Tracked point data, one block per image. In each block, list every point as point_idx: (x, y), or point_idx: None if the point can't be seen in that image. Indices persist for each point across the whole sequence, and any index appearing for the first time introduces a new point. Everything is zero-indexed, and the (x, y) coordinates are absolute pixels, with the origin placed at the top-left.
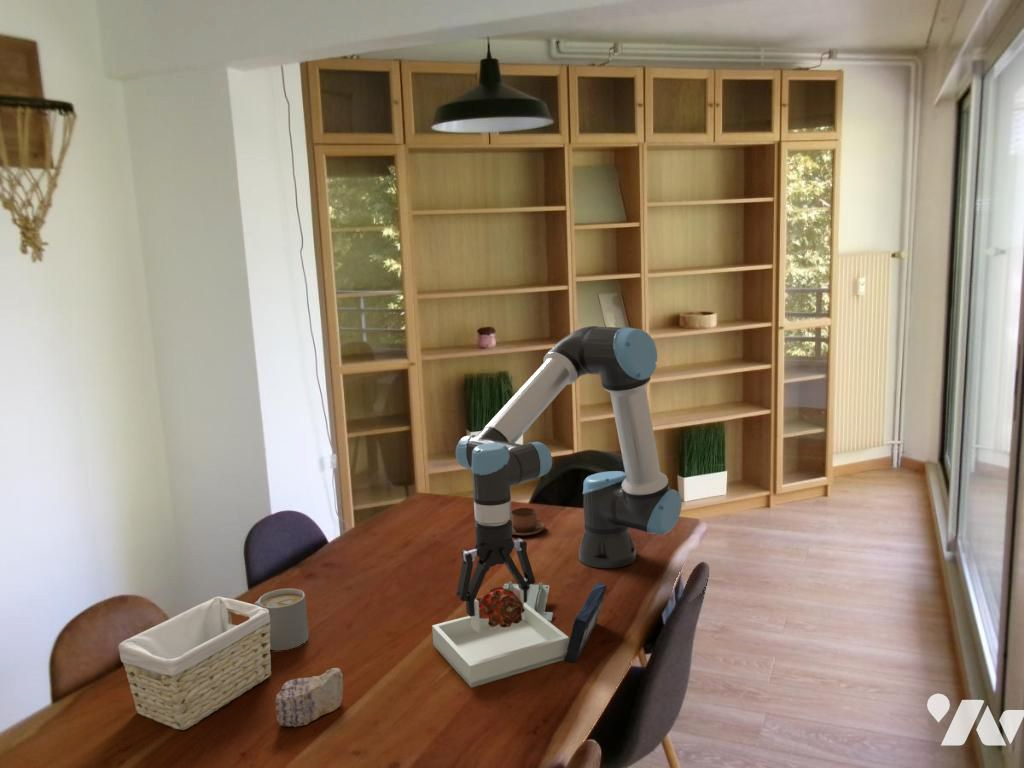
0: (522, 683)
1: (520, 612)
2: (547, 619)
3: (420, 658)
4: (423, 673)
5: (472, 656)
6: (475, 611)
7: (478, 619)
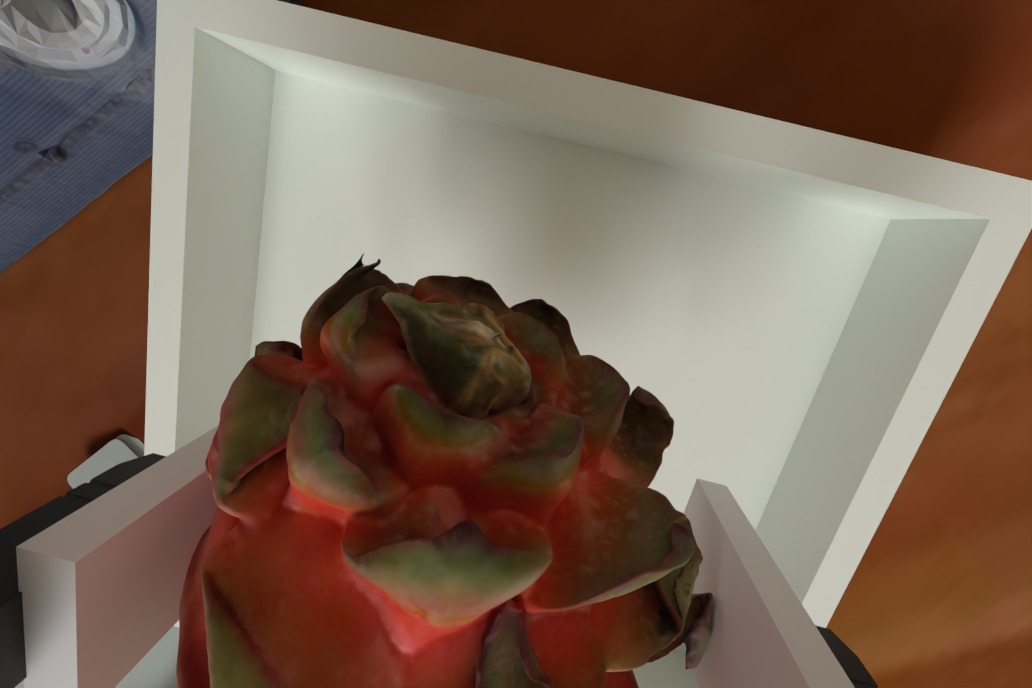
0: (673, 4)
1: (373, 265)
2: (127, 457)
3: (842, 616)
4: (950, 501)
5: (693, 429)
6: (824, 644)
7: (746, 552)
